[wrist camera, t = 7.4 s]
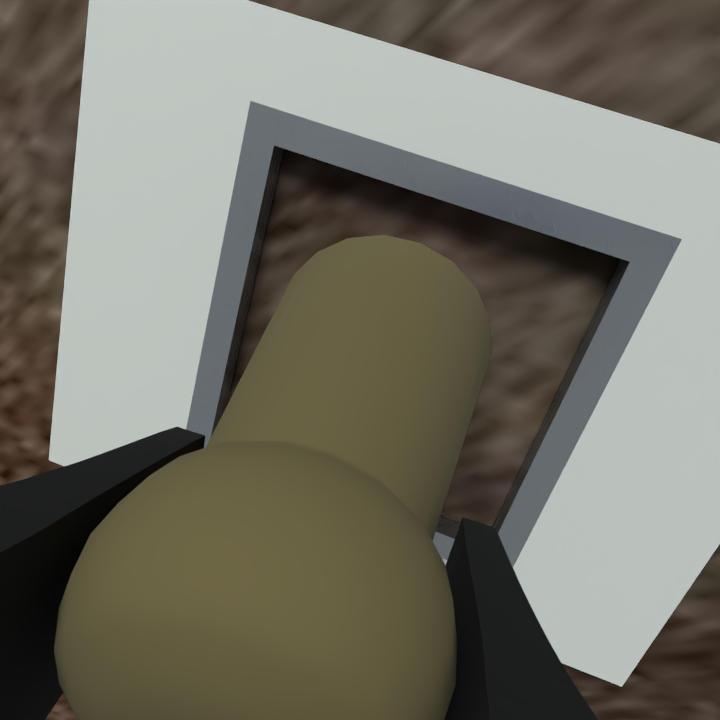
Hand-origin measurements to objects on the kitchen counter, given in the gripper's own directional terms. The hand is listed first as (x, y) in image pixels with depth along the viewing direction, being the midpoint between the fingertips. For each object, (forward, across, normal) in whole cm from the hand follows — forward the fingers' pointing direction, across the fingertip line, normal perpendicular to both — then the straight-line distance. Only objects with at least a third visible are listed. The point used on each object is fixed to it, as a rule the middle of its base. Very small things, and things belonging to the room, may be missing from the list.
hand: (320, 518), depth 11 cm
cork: (+6, 0, -2) cm, 6 cm away
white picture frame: (+10, 0, 0) cm, 10 cm away
